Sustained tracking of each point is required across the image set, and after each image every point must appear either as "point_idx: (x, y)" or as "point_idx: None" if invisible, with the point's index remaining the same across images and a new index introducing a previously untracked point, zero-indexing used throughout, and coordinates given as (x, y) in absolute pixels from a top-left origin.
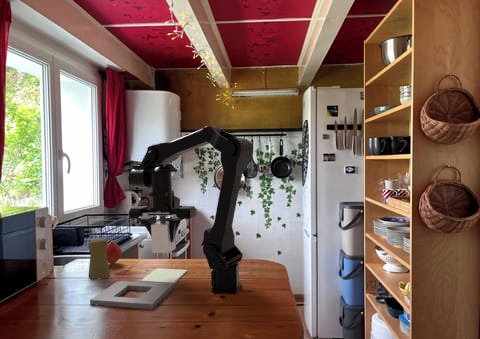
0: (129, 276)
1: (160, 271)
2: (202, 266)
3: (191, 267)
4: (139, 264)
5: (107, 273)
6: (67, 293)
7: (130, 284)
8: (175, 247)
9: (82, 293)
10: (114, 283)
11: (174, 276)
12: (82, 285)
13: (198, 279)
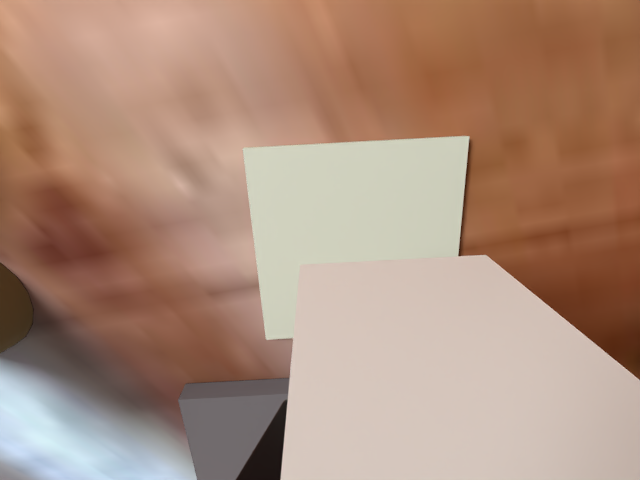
0: (152, 280)
1: (300, 197)
2: (555, 8)
3: (474, 49)
4: (37, 54)
5: (15, 310)
6: (44, 476)
7: (269, 422)
8: (489, 260)
9: (103, 467)
10: (185, 426)
11: (424, 257)
12: (20, 412)
13: (563, 250)
